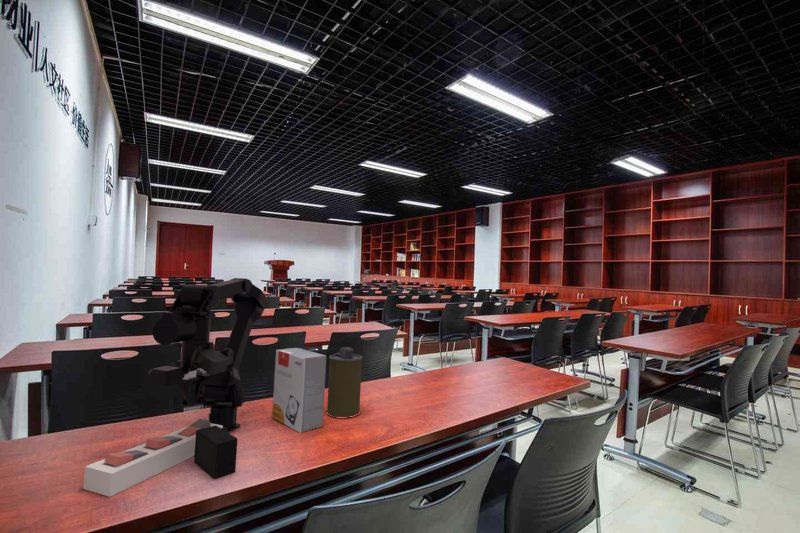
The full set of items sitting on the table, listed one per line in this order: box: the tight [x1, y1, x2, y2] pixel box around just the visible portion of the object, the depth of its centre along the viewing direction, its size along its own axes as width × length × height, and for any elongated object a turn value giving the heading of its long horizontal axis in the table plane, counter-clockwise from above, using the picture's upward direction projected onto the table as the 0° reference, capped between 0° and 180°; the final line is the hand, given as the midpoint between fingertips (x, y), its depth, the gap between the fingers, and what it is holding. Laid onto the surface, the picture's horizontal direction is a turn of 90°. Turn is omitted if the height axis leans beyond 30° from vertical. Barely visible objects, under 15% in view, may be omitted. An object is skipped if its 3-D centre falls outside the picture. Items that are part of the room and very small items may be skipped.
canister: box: [326, 346, 364, 417], centre depth 117 cm, size 11×10×20 cm
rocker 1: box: [104, 450, 148, 465], centre depth 73 cm, size 6×3×1 cm, turn 161°
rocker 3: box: [178, 418, 210, 437], centre depth 87 cm, size 6×3×1 cm, turn 162°
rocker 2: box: [145, 436, 182, 449], centre depth 80 cm, size 6×3×1 cm, turn 161°
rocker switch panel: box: [82, 423, 223, 498], centre depth 81 cm, size 29×7×4 cm, turn 161°
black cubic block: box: [193, 426, 238, 480], centre depth 79 cm, size 10×5×7 cm, turn 49°
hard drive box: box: [271, 347, 327, 434], centre depth 107 cm, size 16×8×20 cm, turn 47°
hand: (192, 405), depth 87 cm, fingers closed
